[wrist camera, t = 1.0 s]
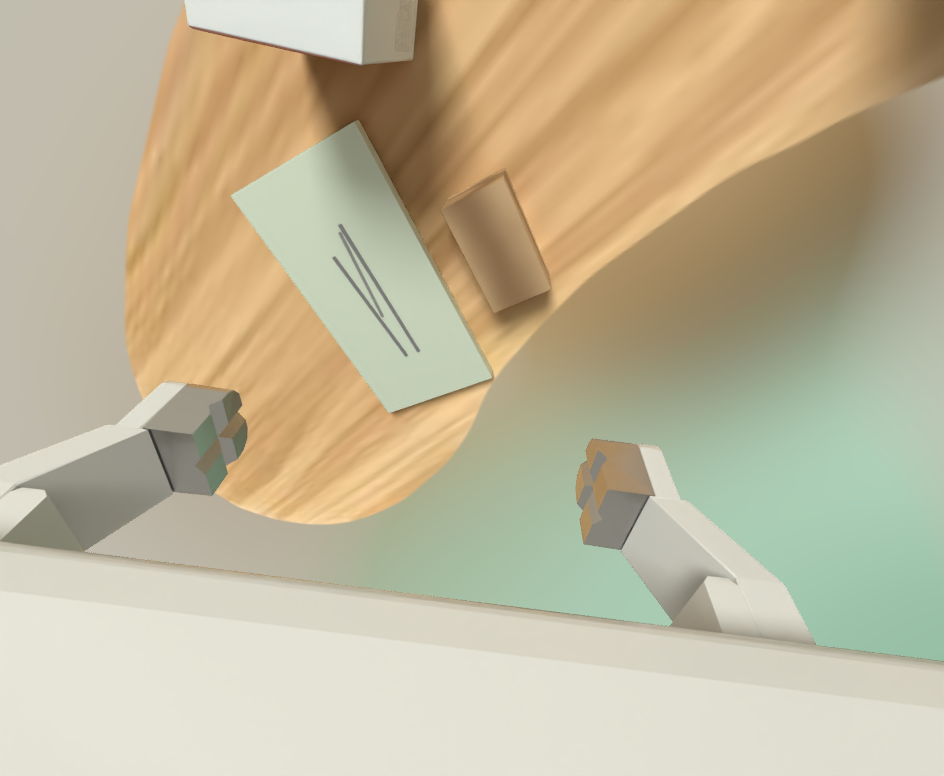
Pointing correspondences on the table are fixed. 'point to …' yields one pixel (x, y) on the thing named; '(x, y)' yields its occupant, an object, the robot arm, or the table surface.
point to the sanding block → (497, 241)
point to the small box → (315, 26)
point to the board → (365, 269)
